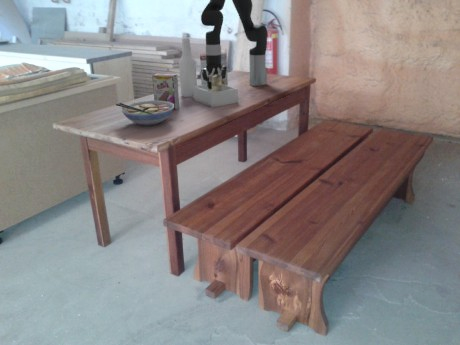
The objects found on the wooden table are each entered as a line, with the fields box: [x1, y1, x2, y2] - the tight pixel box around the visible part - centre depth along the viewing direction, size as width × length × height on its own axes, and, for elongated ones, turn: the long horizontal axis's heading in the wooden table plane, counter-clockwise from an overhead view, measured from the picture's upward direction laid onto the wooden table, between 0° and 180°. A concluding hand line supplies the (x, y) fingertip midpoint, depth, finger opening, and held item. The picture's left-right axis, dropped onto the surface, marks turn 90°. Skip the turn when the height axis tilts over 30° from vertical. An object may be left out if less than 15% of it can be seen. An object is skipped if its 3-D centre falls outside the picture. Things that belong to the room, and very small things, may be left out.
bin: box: [192, 84, 239, 108], centre depth 230 cm, size 15×19×7 cm
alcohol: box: [178, 37, 198, 98], centre depth 238 cm, size 9×9×30 cm
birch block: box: [208, 76, 222, 92], centre depth 228 cm, size 5×5×7 cm
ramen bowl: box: [115, 99, 174, 126], centre depth 196 cm, size 25×23×8 cm
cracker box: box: [199, 51, 229, 86], centre depth 248 cm, size 14×6×21 cm, turn 84°
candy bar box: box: [152, 73, 180, 111], centre depth 217 cm, size 11×5×16 cm, turn 71°
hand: (214, 87), depth 229 cm, fingers closed on birch block, 5 cm apart
